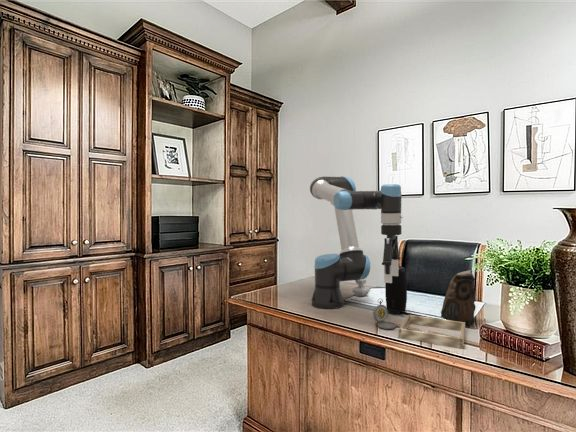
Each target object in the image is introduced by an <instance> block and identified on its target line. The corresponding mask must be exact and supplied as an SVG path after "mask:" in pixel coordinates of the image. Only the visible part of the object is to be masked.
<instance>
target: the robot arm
mask: <svg viewBox="0 0 576 432" xmlns="http://www.w3.org/2000/svg"><path fill="white" fill-rule="evenodd" d="M355 184H356V183H355V181H354V180H353V179H352V178H351V177H350V176H319V177H317V178H314V180H313V181H311V183H310V186H309V192H310V194H311V196H312V197H314V198H315V199H317V200H324V201H327V202H330V204H331V205H332V206H334V207H333V208H334V213H335V214H334V215H335V219H336V225H337V226H336V227H337V229H338V230H337V232H338V237H339V242H340V243H339V244H340V249H341V250H340V253H327V254H320V255H318V256H317V257H316V258H315V259H314V266H313V268H314V289H313V290H314V291H313V292H312V296H311V305H312V306H313V307H314V308H317V309H324V310H325V309H330V310H331V309H339V308H342V307H344V296H343V294H342V291H341V289H340V287H341V286H340V282H348V281H349V282H351V281H355V280H362V279H367V278H368V277H369V275H370V271H371V261H370V260H371V259H370V258H369V256H368V255H365V254H364V251H363V249H361V248H360V245H359V240H358V236H357V229H356V225H355V220H354V214H353V210H376V211H377V210H380V224H382V225H381V226H380V233H381V235H383V236H386V237H384V239H383V240H384V246H383V256H382V262H381V265H382V266H383V274H384V275H383V282H384V284H385V283H392V276H398V266H399V260H401V257H400V253H399V250H400V249H399V241H398V239H399V238H398V237H399V236H400V235H402V225H401V224H402V219H403V218H404V216H403V215H402V195H403V194H402V186H401V185H400V184H397V183H392V184H382V185H381V186H380V190H359V191H358V190H357V188H356V185H355Z"/></svg>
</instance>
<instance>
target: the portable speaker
mask: <svg viewBox="0 0 576 432" xmlns="http://www.w3.org/2000/svg"><path fill="white" fill-rule="evenodd" d="M384 284H385V285H384V289H385V307H386V308H387V310H388V314H392V315H399V314H400V313H404V314H405V313H406V310H407V303H408V302H407V299H408V296H407V295H408V285H407V284H408V281H407V272H406V267H403V266H401V265H398V276H392V283H384Z"/></svg>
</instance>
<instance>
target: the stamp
mask: <svg viewBox="0 0 576 432" xmlns="http://www.w3.org/2000/svg"><path fill="white" fill-rule="evenodd" d="M366 279H367V278H365V279H362V280H354V282H355V284H356V285H358V286H356V287H353V288H352V290H351V291H352V293H353V294H354V295H355V296H358V297H365V296H367V295H369V293H370V291H371V290H370V288H369V287H367V286H365V287H364V285H366V282H367V280H366Z"/></svg>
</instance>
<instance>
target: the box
mask: <svg viewBox="0 0 576 432" xmlns="http://www.w3.org/2000/svg"><path fill="white" fill-rule="evenodd" d="M411 324H414V325H419V326H427V327H432V328H440V329H445V330H446V329H447V330H453V331H460V334H459V337H458V336H450V335H445V334H444V335H443V334H439V333H433V332H426V331H419V330H413V329H408V328H409V327H410V325H411ZM465 337H466V326H465V322H458V321H451V320H445V319H444V318H435V317H427V316H422V315H421V316H419V315H415V314H414V315H413V314H407V315H406V317H405V318H404V320H403V322H402V323H401V325H400V326H399V328H398V338H400V339H404V340H409V339H411V340H410V341H415V340H417V341H416V342H421V341H423V343H427V342H428V343H427V344H434V345H438V346H446V347H449V348H450V347H452V348H456V349H463V350H464V347H465V346H464V345H465Z"/></svg>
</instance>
